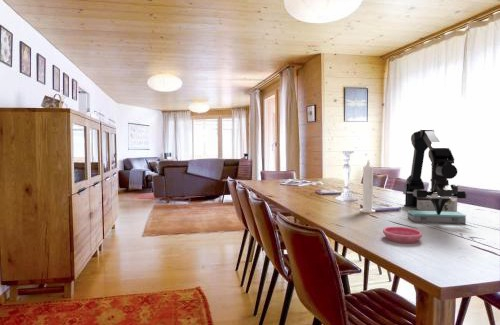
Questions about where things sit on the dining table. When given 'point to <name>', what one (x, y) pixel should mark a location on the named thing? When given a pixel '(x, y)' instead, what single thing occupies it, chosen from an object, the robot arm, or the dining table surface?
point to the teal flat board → (437, 219)
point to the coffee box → (427, 205)
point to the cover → (433, 213)
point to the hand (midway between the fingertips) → (438, 214)
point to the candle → (367, 189)
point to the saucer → (402, 234)
